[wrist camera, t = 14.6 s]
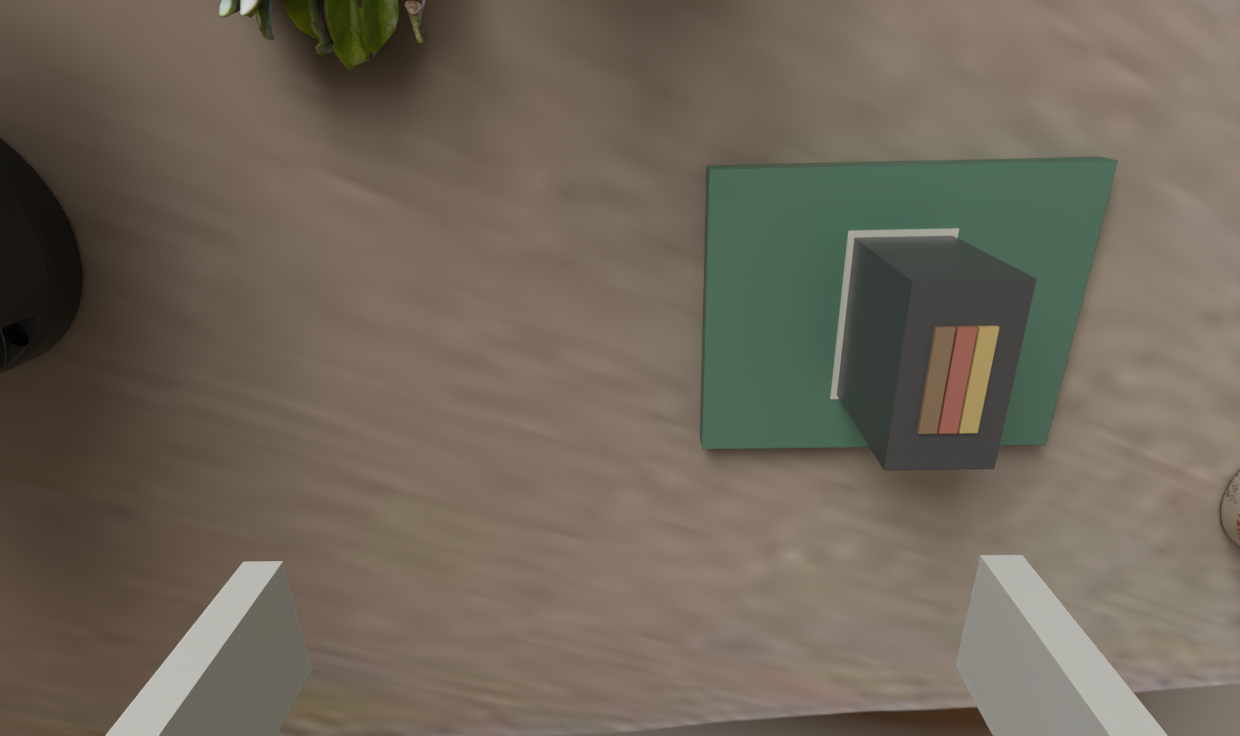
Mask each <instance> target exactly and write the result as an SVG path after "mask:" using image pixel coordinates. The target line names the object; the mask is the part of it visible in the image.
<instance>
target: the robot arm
mask: <svg viewBox="0 0 1240 736" xmlns="http://www.w3.org/2000/svg"><path fill="white" fill-rule="evenodd" d="M80 292H81V269H80V262H79V256H78V252H77V247H76V244H75V241H74V237H73V235H72V232H71V229H70V227H69V225H68V222H67V220H66V218H65V216H64V214H63V212H62V210H61V208H60V207H59V205H58V203H57V202H56V200H55V198H54V197H53V195H52V194H51V192H50V191H49V189H48V188H47V186H46V185H45V184H44V182H43V181H42V180H41V179H40V177H39V176H38V175H37V174H36V172H35V171H34V170H33V169H32V168H31V167H30V166H29V165H28V163H27V162H26V161H25V160H24V159H23V158H22V157H21V156H20V155H19V154H18V153H16V152H15V151H14V150H13V149H12V148H11V147H10V146H9V145H8V144H6V143H5V142H4V141H3V140H2V139H0V373H2V372H4V371H7V370H9V369H11V368H13V367H15V366H18V365H20V364H22V363H24V362H26V361H28V360H30V359H32V358H34V357H36V356H38V355H40V354H42V353H44V352H45V351H47V350H48V349H50V348H51V347H52V346H53V345H55V344H56V343H57V342H58V341H59V340H60V339H61V337H62V336H63V335H64V334H65V332H66V331H67V329H68V328H69V326H70V324H71V323H72V321H73V319H74V316H75V314H76V311H77V307H78V304H79V299H80ZM955 667H956V668H957V670H958V672H959V674H960V676H961V678H962V679H963V681H964V683H965V685H966V687H967V689H968V690H969V692H970V694H971V696H972V698H973V700H974V702H975V703H976V705H977V707H978V709H979V711H980V713H981V714H982V716H983V718H984V720H985V722H986V724H987V726H988V727H989V729H990V731H991V733H992V735H993V736H1167V735H1166V733H1165V732H1164V731H1163V729H1162V728H1161V727H1160V726H1159V724H1158V723H1157V722H1156V721H1155V719H1154V718H1153V717H1152V716H1151V714H1150V713H1149V712H1148V711H1147V709H1146V708H1145V707H1144V706H1143V705H1142V703H1141V702H1140V701H1139V700H1138V698H1137V697H1136V696H1135V695H1134V693H1133V692H1132V691H1131V690H1130V688H1129V687H1128V686H1127V685H1126V683H1125V682H1124V681H1123V680H1122V678H1121V677H1120V676H1119V675H1118V673H1117V672H1116V671H1115V670H1114V669H1113V667H1112V666H1111V665H1110V664H1109V662H1108V661H1107V660H1106V659H1105V657H1104V656H1103V655H1102V654H1101V652H1100V651H1099V650H1098V649H1097V647H1096V646H1095V645H1094V644H1093V642H1092V641H1091V640H1090V639H1089V637H1088V636H1087V635H1086V634H1085V632H1084V631H1083V630H1082V629H1081V628H1080V626H1079V625H1078V624H1077V623H1076V621H1075V620H1074V619H1073V618H1072V616H1071V615H1070V614H1069V613H1068V611H1067V610H1066V609H1065V608H1064V606H1063V605H1062V604H1061V603H1060V601H1059V600H1058V599H1057V598H1056V596H1055V595H1054V594H1053V593H1052V591H1051V590H1050V589H1049V588H1048V587H1047V585H1046V584H1045V583H1044V582H1043V580H1042V579H1041V578H1040V577H1039V575H1038V574H1037V573H1036V572H1035V570H1034V569H1033V568H1032V567H1031V565H1030V564H1029V563H1028V562H1027V560H1026V559H1025V558H1024V557H1023V555H980V559H979V564H978V568H977V572H976V577H975V581H974V586H973V590H972V595H971V599H970V603H969V608H968V612H967V617H966V621H965V625H964V630H963V634H962V639H961V643H960V648H959V652H958V656H957V661H956V665H955ZM311 670H312V667H311V663H310V659H309V655H308V652H307V648H306V644H305V641H304V637H303V633H302V630H301V626H300V622H299V619H298V615H297V611H296V607H295V604H294V600H293V596H292V593H291V589H290V585H289V582H288V578H287V574H286V571H285V567H284V563H283V561H264V562H243V563H242V564H241V565H240V567H239V568H238V569H237V570H236V572H235V573H234V574H233V575H232V577H231V578H230V579H229V580H228V582H227V583H226V584H225V586H224V587H223V588H222V589H221V591H220V592H219V593H218V594H217V596H216V597H215V598H214V599H213V601H212V602H211V603H210V604H209V606H208V607H207V608H206V609H205V611H204V612H203V613H202V614H201V616H200V617H199V618H198V620H197V621H196V622H195V623H194V625H193V626H192V627H191V628H190V630H189V631H188V632H187V633H186V635H185V636H184V637H183V638H182V640H181V641H180V642H179V643H178V645H177V646H176V647H175V648H174V650H173V651H172V652H171V654H170V655H169V656H168V657H167V659H166V660H165V661H164V662H163V664H162V665H161V666H160V667H159V669H158V670H157V671H156V672H155V674H154V675H153V676H152V677H151V679H150V680H149V681H148V683H147V684H146V685H145V686H144V688H143V689H142V690H141V691H140V693H139V694H138V695H137V696H136V698H135V699H134V700H133V701H132V703H131V704H130V705H129V706H128V708H127V709H126V710H125V711H124V713H123V714H122V715H121V717H120V718H119V719H118V720H117V722H116V723H115V724H114V725H113V727H112V728H111V729H110V730H109V732H108V733H107V734H106V735H105V736H277V734H278V732H279V730H280V728H281V726H282V724H283V722H284V721H285V719H286V717H287V715H288V713H289V711H290V709H291V708H292V706H293V704H294V702H295V700H296V698H297V696H298V695H299V693H300V691H301V689H302V687H303V685H304V683H305V681H306V680H307V678H308V676H309V674H310V672H311Z"/></svg>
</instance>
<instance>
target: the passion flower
mask: <svg viewBox="0 0 1240 736" xmlns="http://www.w3.org/2000/svg"><path fill="white" fill-rule="evenodd" d="M321 1H322V0H283V5H284V7H285V11H286V13H287V15H288V16H289V18H290V19H291V20H292V22H293V23H294V24H295V25H296V26H297V28H298V30H301V31H302V32H303V33H304V34H307V35H309V36H310V37H312V38H315V39H317V40H318V41H317V45H316V47H315V50H316V52H317V54H319V55H321V56H324V55H327V54H330V53H332V52H334V54H335V55H336V56H337V58H338V59H339V61H340V62H341V63H342V64H343V66H344V67H345V68H346V69H348V70H353V69H354V68H355V67H356V66H357V65H358V64H360V63H363V62H365V61H369V60H370V59H373V58H374V56H375V55H376V54H377V53H378V51H379V50H380V49H381V48H382V46H383V45H384V44H385V43H386V42H387V41H388V39H389V38H390V36H391V35H392V34H393V32H394V31H395V30H396V28H397V25H398V20H399V0H324V5H323V8H322V2H321ZM425 1H426V0H423V1H422V5H421V4H420V3H419V2H416V1H406V2H405V8H406V9H407V12H408V14H409V17H410V21H411V23H412V29H413V31H414V32H415V36H416V39H417V41H418V42H419V43H422V42H423V41H424V40H425V38H426V31H425V30H424V28H423V23H422V16H421V15H422V11H423V9H424V6H425ZM323 10H324V13H323ZM238 11H240V15H241V16H249V17H250V18H251V17H252V16H253V15H254V13H255V14H256V19H257V23H258V25H259V26H258V27H259V30H260V32H261V33H262V35H263V37H264V38H266V39H268V40H273V39H274V37H273V35H272V29H271V17H272V15H273V10H272V0H222V2H221V5H220V8H219V16H220V17H228V16H230V15H231V14H233V13H236V12H238ZM326 24H327V25H326ZM330 36H331V39H332V40H333V41H334V44H332V43H331V42H330Z"/></svg>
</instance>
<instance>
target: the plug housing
mask: <svg viewBox="0 0 1240 736" xmlns="http://www.w3.org/2000/svg"><path fill="white" fill-rule="evenodd" d="M1036 280H1037V279H1036V278H1034V277H1032V276H1030V275H1028V274H1026V273H1024V272H1022V271H1021V270H1019V269H1017V268H1015V267H1013V266H1011V265H1009V264H1007V263H1005V262H1003V261H1001V260H999V259H997V258H995V257H993V256H991V255H989V254H987V253H985V252H984V251H982V250H980V249H978V248H976V247H974V246H972V245H970V244H968V243H966V242H964V241H962V240H960V239H958V238H956V237H954V236H908V237H856V238H854V246H853V255H852V264H851V273H850V282H849V291H848V300H847V309H846V318H845V327H844V335H843V344H842V353H841V362H840V371H839V380H838V389H837V396H838V398H839V399H840V401H841V403H842V404H843V406H844V407H845V409H846V411H847V412H848V414H849V415H850V417H851V419H852V420H853V422H854V423H855V425H856V426H857V428H858V430H859V431H860V433H861V434H862V436H863V438H864V439H865V441H866V442H867V444H868V446H869V447H870V449H871V450H872V452H873V453H874V455H875V457H876V458H877V460H878V461H879V463H880V465H881V466H882V468H883V469H884V470H959V469H994V468H995V463H996V459H997V454H998V450H999V445H1000V441H1001V436H1002V432H1003V427H1004V423H1005V418H1006V414H1007V409H1008V405H1009V401H1010V396H1011V392H1012V387H1013V383H1014V378H1015V374H1016V369H1017V365H1018V360H1019V356H1020V351H1021V347H1022V342H1023V338H1024V333H1025V329H1026V324H1027V320H1028V316H1029V311H1030V307H1031V302H1032V298H1033V293H1034V289H1035V284H1036Z"/></svg>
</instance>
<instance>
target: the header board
mask: <svg viewBox="0 0 1240 736" xmlns="http://www.w3.org/2000/svg"><path fill="white" fill-rule="evenodd" d="M1117 161H1118V160H1113V159H1107V158H1102V157H1074V158H1030V159H986V160H941V161H897V162H853V163H809V164H765V165H720V166H707V175H706V215H705V255H704V295H703V335H702V375H701V415H700V440H701V445H702V449H741V448H823V447H869V446H868V444H867V442H866V441H865V439H864V438H863V436H862V434H861V433H860V431H859V430H858V428H857V426H856V425H855V423H854V422H853V420H852V419H851V417H850V415H849V414H848V412H847V411H846V409H845V407H844V406H843V404H842V403H841V401H840V399H839V398H838V396H837V389H838V380H839V371H840V362H841V353H842V344H843V335H844V327H845V318H846V309H847V300H848V291H849V282H850V273H851V264H852V255H853V246H854V238H856V237H908V236H954V237H956V238H958V239H960V240H962V241H964V242H966V243H968V244H970V245H972V246H974V247H976V248H978V249H980V250H982V251H984V252H985V253H987V254H989V255H991V256H993V257H995V258H997V259H999V260H1001V261H1003V262H1005V263H1007V264H1009V265H1011V266H1013V267H1015V268H1017V269H1019V270H1021V271H1022V272H1024V273H1026V274H1028V275H1030V276H1032V277H1034V278H1036V279H1037V280H1036V284H1035V289H1034V293H1033V298H1032V302H1031V307H1030V311H1029V316H1028V320H1027V324H1026V329H1025V333H1024V338H1023V342H1022V347H1021V351H1020V356H1019V360H1018V365H1017V369H1016V374H1015V378H1014V383H1013V387H1012V392H1011V396H1010V401H1009V405H1008V409H1007V414H1006V418H1005V423H1004V427H1003V432H1002V436H1001V441H1000V445H1046V442H1047V438H1048V434H1049V430H1050V426H1051V422H1052V418H1053V414H1054V410H1055V406H1056V402H1057V398H1058V394H1059V390H1060V386H1061V382H1062V378H1063V374H1064V371H1065V367H1066V363H1067V359H1068V355H1069V351H1070V347H1071V343H1072V339H1073V335H1074V331H1075V327H1076V323H1077V319H1078V315H1079V311H1080V307H1081V303H1082V299H1083V295H1084V292H1085V288H1086V284H1087V280H1088V276H1089V272H1090V268H1091V264H1092V260H1093V256H1094V252H1095V248H1096V244H1097V240H1098V236H1099V232H1100V228H1101V224H1102V220H1103V216H1104V213H1105V209H1106V205H1107V201H1108V197H1109V193H1110V189H1111V185H1112V181H1113V177H1114V173H1115V169H1116V165H1117Z"/></svg>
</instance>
